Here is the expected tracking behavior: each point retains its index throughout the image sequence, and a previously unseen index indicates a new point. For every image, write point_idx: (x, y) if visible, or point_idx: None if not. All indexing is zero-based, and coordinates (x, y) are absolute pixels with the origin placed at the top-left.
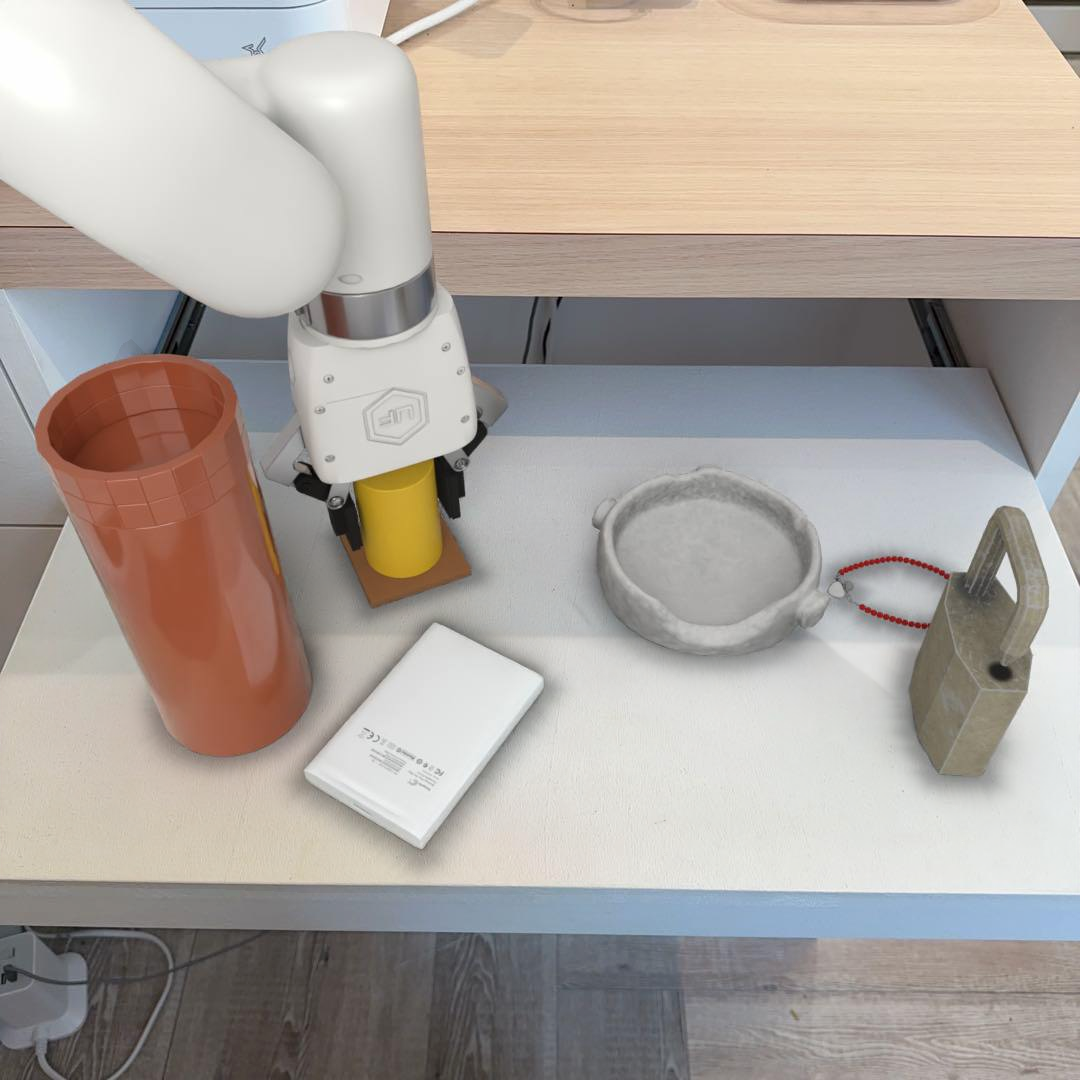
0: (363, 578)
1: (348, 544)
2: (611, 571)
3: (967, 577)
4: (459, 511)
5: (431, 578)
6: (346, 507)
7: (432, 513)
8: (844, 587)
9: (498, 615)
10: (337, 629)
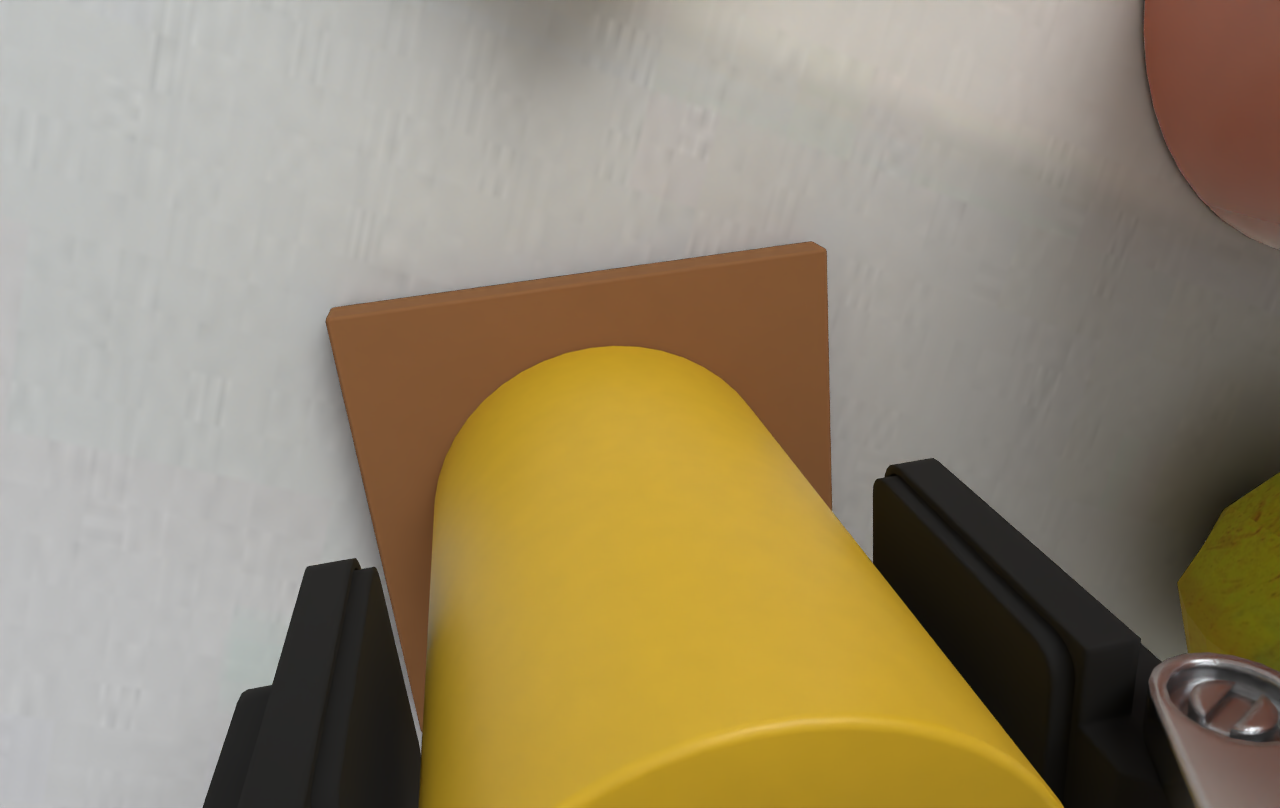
0: (816, 393)
1: None
2: None
3: None
4: (305, 589)
5: (528, 314)
6: (1127, 656)
7: (486, 576)
8: None
9: (235, 3)
10: (972, 170)
